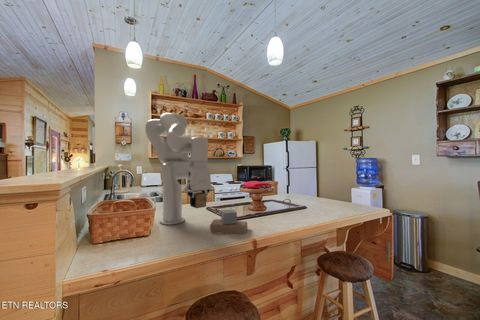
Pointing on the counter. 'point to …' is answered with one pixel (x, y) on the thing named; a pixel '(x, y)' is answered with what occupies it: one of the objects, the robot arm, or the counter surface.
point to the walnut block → (200, 200)
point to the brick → (228, 227)
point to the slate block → (229, 216)
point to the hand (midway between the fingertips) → (198, 204)
